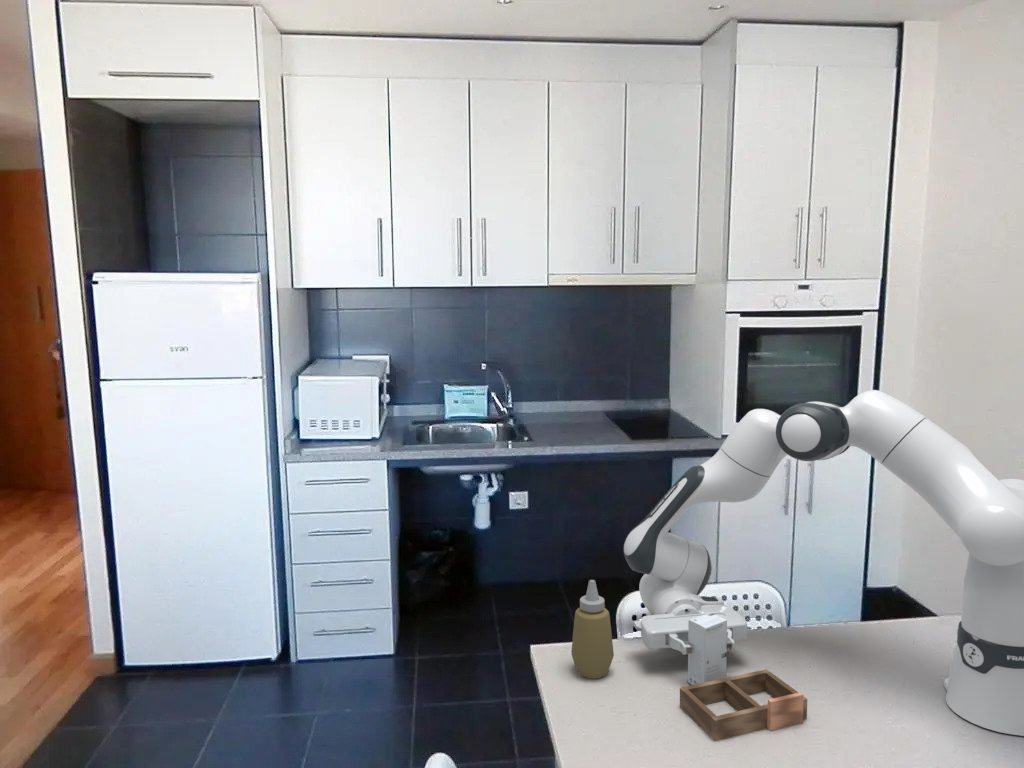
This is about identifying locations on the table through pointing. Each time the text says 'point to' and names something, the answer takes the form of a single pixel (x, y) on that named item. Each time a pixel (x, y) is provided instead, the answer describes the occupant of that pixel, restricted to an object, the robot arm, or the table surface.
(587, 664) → the squeeze bottle
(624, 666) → the table surface
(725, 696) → the wooden compartment holder
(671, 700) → the table surface
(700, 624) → the skincare box
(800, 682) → the table surface
